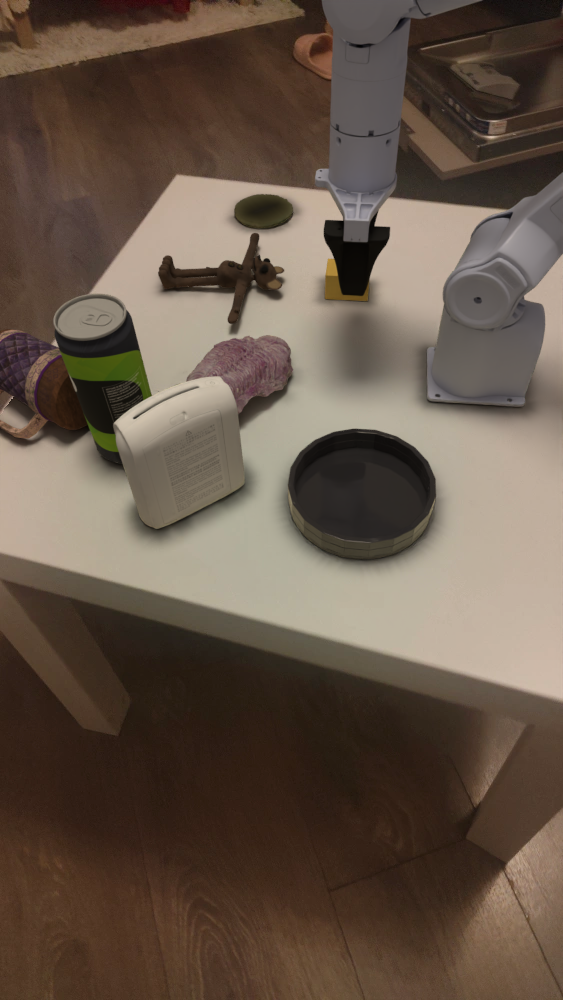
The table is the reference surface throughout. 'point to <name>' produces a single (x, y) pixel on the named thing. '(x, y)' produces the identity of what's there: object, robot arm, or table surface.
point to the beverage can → (102, 363)
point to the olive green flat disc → (263, 210)
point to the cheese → (333, 285)
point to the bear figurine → (226, 276)
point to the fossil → (248, 366)
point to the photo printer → (181, 449)
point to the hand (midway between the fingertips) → (355, 269)
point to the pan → (361, 493)
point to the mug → (38, 383)
